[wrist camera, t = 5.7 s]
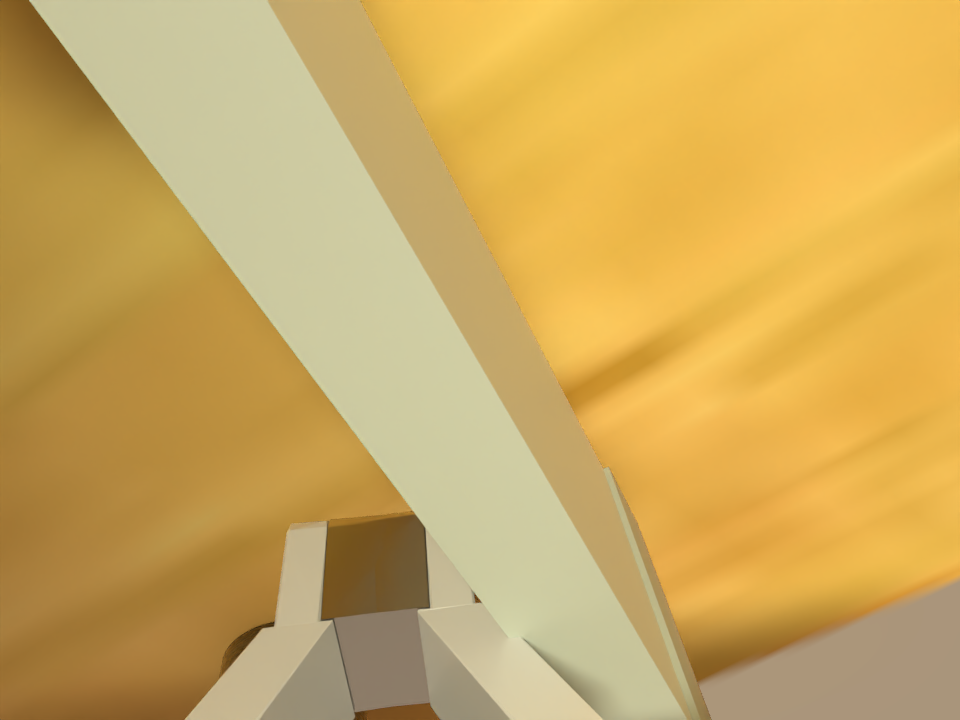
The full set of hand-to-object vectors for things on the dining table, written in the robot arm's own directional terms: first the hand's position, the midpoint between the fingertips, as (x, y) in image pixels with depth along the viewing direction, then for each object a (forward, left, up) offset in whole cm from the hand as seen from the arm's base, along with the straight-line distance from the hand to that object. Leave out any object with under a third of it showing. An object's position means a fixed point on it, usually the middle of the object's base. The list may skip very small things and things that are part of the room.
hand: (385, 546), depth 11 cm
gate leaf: (+1, +4, -3) cm, 5 cm away
